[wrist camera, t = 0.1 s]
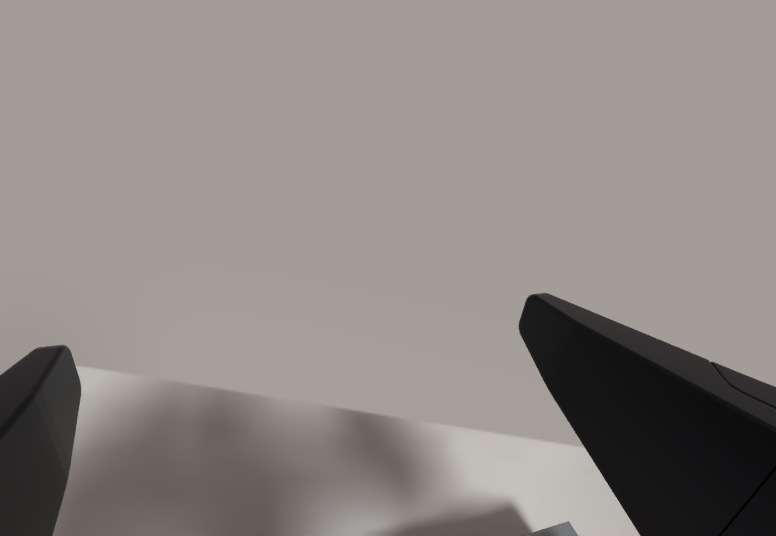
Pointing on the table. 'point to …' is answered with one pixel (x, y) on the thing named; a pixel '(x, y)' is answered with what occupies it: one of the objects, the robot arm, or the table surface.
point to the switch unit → (556, 531)
